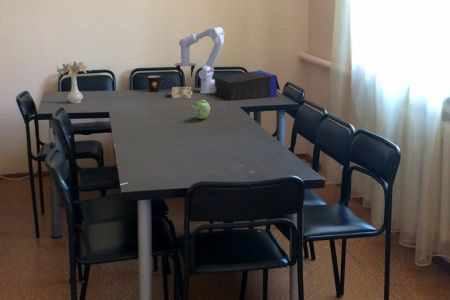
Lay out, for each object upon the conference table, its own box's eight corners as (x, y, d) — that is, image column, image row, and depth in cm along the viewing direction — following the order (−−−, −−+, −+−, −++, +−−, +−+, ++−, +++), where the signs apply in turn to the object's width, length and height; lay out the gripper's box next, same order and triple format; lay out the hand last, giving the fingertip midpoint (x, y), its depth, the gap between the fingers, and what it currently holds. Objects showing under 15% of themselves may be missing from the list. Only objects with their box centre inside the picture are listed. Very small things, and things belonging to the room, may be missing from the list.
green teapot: (187, 118, 313) (187, 98, 310) (206, 116, 317) (206, 96, 314) (195, 122, 302) (195, 102, 299) (215, 120, 307) (214, 100, 304)
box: (191, 94, 380) (191, 87, 378) (190, 98, 368) (190, 90, 367) (172, 94, 379) (172, 87, 378) (171, 98, 368) (171, 90, 367)
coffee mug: (146, 92, 389) (145, 77, 387) (151, 89, 397) (150, 75, 395) (162, 92, 386) (161, 78, 383) (166, 90, 394) (166, 76, 391)
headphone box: (280, 97, 371) (280, 74, 367) (230, 101, 359) (229, 78, 355) (264, 90, 393) (264, 69, 389) (216, 94, 381) (215, 72, 377)
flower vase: (58, 101, 358) (55, 61, 352) (88, 99, 364) (85, 60, 357) (59, 105, 347) (56, 64, 340) (90, 103, 352) (88, 62, 345)
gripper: (174, 57, 384) (174, 77, 387) (195, 57, 384) (196, 77, 388) (174, 56, 390) (175, 76, 394) (196, 56, 391) (196, 76, 394)
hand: (185, 76), depth 391 cm, fingers open, 7 cm apart
